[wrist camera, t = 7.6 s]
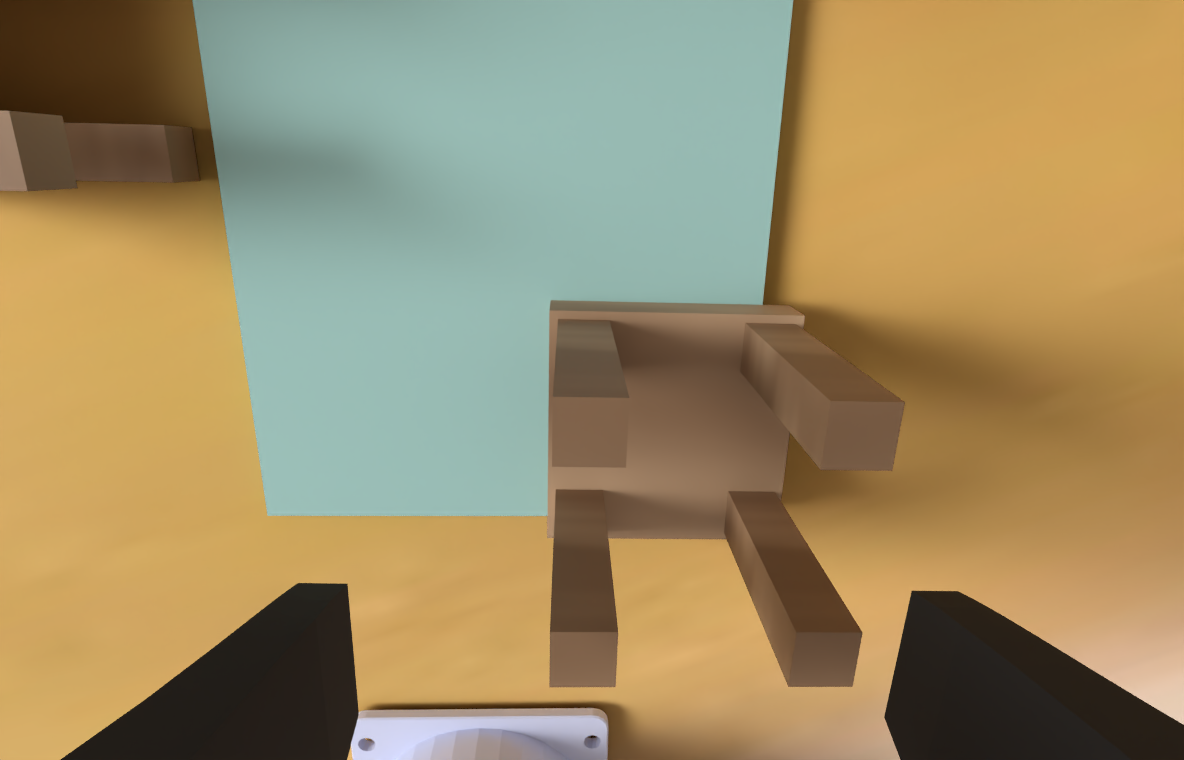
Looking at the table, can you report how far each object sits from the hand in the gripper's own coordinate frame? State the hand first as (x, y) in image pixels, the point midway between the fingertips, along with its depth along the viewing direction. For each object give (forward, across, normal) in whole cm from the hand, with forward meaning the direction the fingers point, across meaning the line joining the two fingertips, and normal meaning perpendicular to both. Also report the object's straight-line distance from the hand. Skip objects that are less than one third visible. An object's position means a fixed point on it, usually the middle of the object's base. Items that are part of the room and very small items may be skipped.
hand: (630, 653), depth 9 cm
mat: (+10, +2, -4) cm, 11 cm away
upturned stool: (+9, -2, 0) cm, 10 cm away
